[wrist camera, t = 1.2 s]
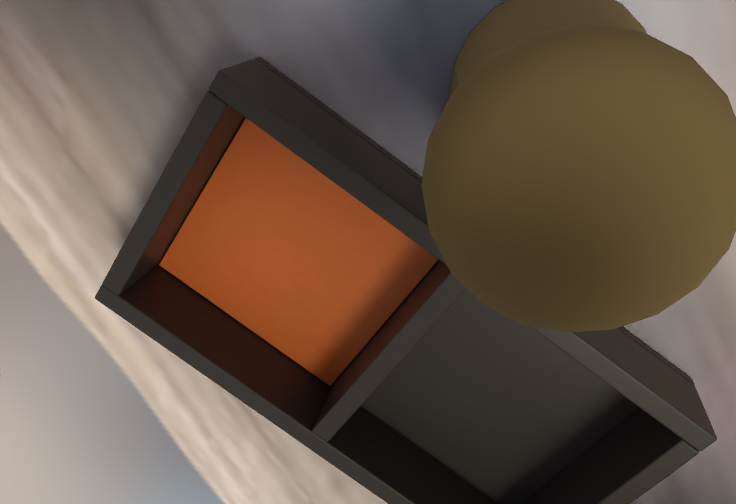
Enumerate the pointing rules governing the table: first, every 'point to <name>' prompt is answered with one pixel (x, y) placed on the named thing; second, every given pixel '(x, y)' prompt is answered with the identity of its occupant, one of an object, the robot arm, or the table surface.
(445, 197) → the olive knobbed cylinder
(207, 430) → the table surface
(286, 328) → the divided tray
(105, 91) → the table surface
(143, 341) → the table surface
